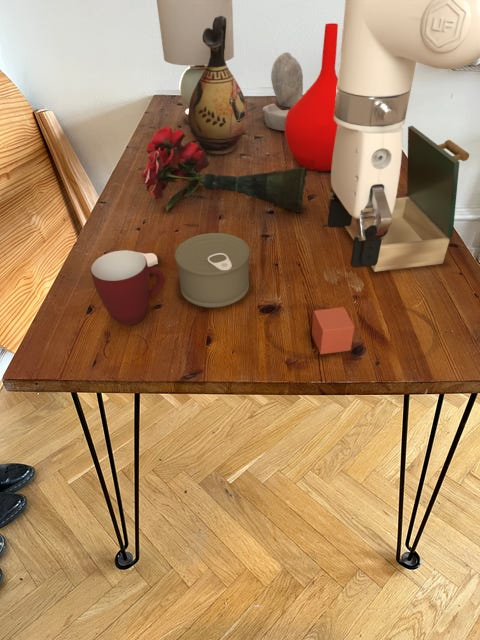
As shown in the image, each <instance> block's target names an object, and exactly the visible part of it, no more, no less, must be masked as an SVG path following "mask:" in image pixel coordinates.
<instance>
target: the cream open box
mask: <svg viewBox="0 0 480 640" xmlns="http://www.w3.org/2000/svg"><path fill="white" fill-rule="evenodd" d="M372 211H374V210H373V207H371V208H365V209H364V210H362V212H372ZM374 221H375V219H374V218H370V219H364V222H365V229H367V228H368V227H369V226H371V225H374ZM344 228H345V229H346V231H347V233H348V234H349V235H350V237H351V238H352V240H353V241H354V237H358V232H357V223H356V218H354V217H353V216H352V222H351V225H350V226H344ZM450 241H451V240H450V238H448V237H447V236H446V235H445V234H444V233H443V232H442V231H441V230H440V229H439V228H438V227H437V226H436V225H435V224H434V222H433V221H432V220H431V219H430V218H429V217H428V216H427V215H426V214H425V213H424V212H423V211H422V210H421V209H420V208H419V207H418V206H417V205H416V204H415V203H414V202H413V201H412V200H411V199H410V198H409V197H408V196H405V197H403V196H402V197H396V202H395V207H394V211H393V213H392V223H391V225H390V226H389V228H388V232H387V234H386V235H385V237H384V239H382V242H381V247H380V252H379V257H378V262H377V264H376V265H374V266H370V267H371V269H372V270H373V272H383V271H391V270H400V269H408V268H417V267H426V266H435V265H440V264H441V265H442V264H444V261H445V258H446V254H447V251H448V247H449V244H450Z"/></svg>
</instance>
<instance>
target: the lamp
mask: <svg viewBox="0 0 480 640" xmlns="http://www.w3.org/2000/svg"><path fill="white" fill-rule="evenodd" d="M156 6H157V14H158V22H159V30H160V38H161V45H162V47H161V48H162V53H163V60H164V62H166V63H168V64H171V65H178V66H188V67H187V68H185V70H184V72H183V73H182V74H181V77H180V80H179V93H180V97H181V99H182V101H183V103H184V104H185V105H186V106H187V107H188V108H186V110H185V120H186V123H188V110H189V104H190V99H191V96H192V93H193V91H194V89H195V87H196V85H197V83H198V81H199V79H200V78H201V76H202V74H203V72H204V70H205V69H206V68H207V66H208V63H209V59H210V48H209V47H208V46H207V45H206V44H205V43H204V42H203V33H204V31H205V29H206V28H210V29H213V27H212V25H213V21H214V19H215V18H216V17H219V16H223V17H225V18H226V38H225V50H224V59H225V62H227V61H230V60H232V59H234V57H235V53H234V52H235V49H234V48H235V47H234V45H235V44H234V43H235V42H234V12H233V11H234V10H233V0H156Z"/></svg>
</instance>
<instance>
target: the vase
mask: <svg viewBox="0 0 480 640" xmlns="http://www.w3.org/2000/svg"><path fill="white" fill-rule="evenodd" d="M338 32H339V24H338V23H333V22H330V23H325V24H324V33H323V43H322V45H323V46H322V53H321V69H320V72H319V75H318V76H317V78H316V80H315V81H314V82H313V84H312V85H311V86H310V87H309V88H308V89H307V90H306V91H305V93H303V96H302V97H301V98H300V99H299V100H298V101H297V102H296V103H295V104H294V105H293V106H292V108H289V109H290V110H289V109H288V110H289V111H288V113H287V117H286V121H285V131H284V135H285V138H286V142H287V145H288V146H287V147H288V149H289V151H290V154H291V155H292V156H293V158H294V160H295V161H296V162H297V163H298V164H299V165H300V166H301V167H302V168H304V167H305V168H307V170H310V171H314V172H315V171H316V172H328V171H331V168H332V158H333V151H334V144H335V137H336V131H337V126H338V124H337V123H336V122H335V121H334V110H335V100H336V90H337V81H338V75H337V73H336V63H337V62H336V61H337V47H338V34H339V33H338Z"/></svg>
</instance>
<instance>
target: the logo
mask: <svg viewBox="0 0 480 640" xmlns="http://www.w3.org/2000/svg"><path fill="white" fill-rule="evenodd" d="M137 252H138V253H140V254H142V255H143V256H144V257H145V258H146V260H147V265H148V267H149V266H155V265H158V264H159V260H158V257H157V255H156V254H155V253H153V252H149V253H143V252H140V251H137Z"/></svg>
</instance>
